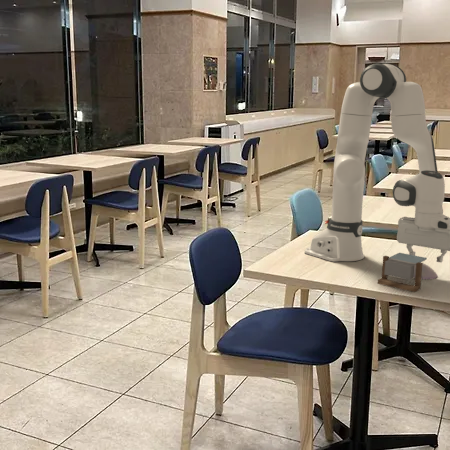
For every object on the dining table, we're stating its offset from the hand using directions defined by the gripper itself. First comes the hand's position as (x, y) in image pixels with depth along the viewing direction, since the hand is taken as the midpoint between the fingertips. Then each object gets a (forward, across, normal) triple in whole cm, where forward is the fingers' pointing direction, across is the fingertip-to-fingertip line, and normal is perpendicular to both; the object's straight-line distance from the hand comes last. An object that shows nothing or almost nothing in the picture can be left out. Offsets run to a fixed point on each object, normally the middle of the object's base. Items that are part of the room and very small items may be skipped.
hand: (425, 259), depth 195 cm
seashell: (+6, -1, -1) cm, 6 cm away
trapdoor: (+2, -2, -14) cm, 14 cm away
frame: (+5, -2, -17) cm, 18 cm away
